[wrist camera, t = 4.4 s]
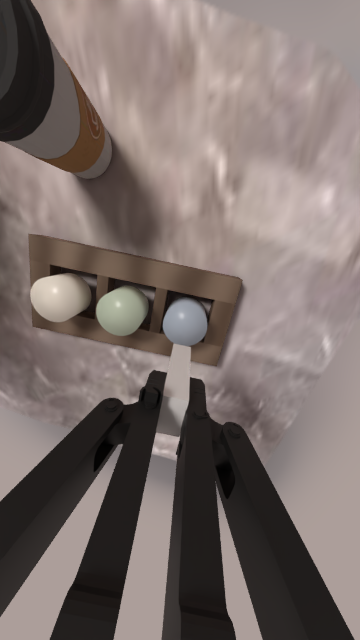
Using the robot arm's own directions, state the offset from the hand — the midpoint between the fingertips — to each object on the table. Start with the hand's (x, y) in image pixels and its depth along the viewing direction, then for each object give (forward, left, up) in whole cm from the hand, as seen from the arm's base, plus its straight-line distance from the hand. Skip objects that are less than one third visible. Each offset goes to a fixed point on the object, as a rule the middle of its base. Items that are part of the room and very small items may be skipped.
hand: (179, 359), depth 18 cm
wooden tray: (-8, 0, -14) cm, 16 cm away
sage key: (-8, 0, -11) cm, 14 cm away
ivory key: (-16, 0, -11) cm, 19 cm away
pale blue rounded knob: (0, 0, -12) cm, 12 cm away
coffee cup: (-16, +17, -14) cm, 28 cm away
